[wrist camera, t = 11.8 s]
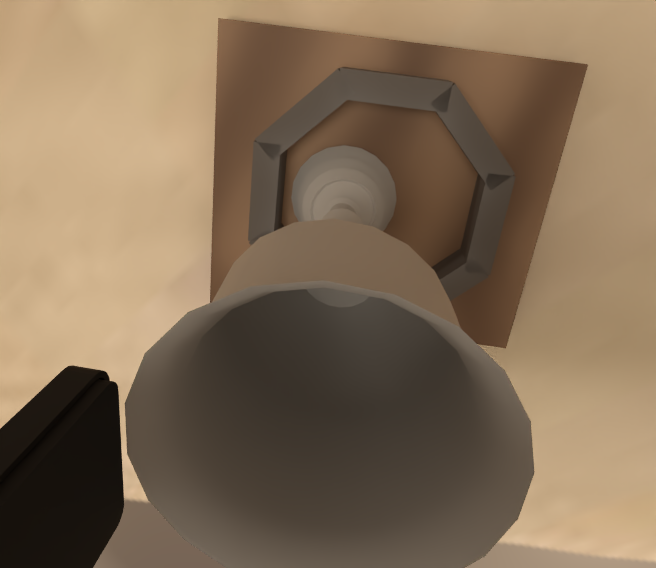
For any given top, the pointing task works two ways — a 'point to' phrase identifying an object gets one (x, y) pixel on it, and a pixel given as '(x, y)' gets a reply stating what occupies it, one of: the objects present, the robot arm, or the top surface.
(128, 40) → the top surface
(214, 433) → the chalice
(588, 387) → the top surface
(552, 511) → the top surface
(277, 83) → the display stand
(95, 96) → the top surface
